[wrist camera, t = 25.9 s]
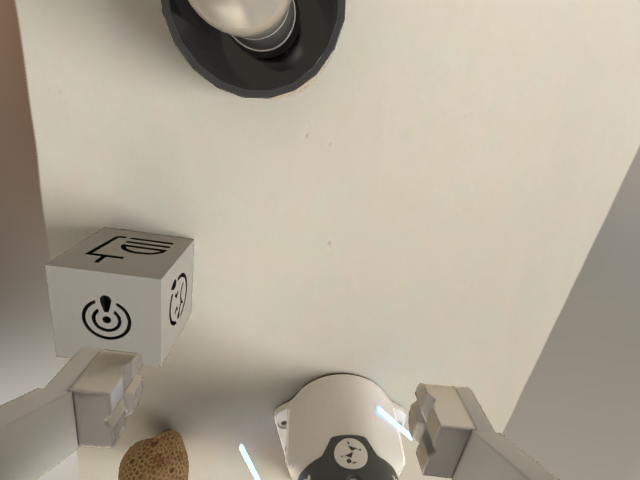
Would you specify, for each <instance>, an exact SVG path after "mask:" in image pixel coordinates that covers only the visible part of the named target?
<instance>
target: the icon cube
mask: <svg viewBox="0 0 640 480" xmlns="http://www.w3.org/2000/svg"><path fill="white" fill-rule="evenodd" d="M193 255H194V240H193V239H186V238H179V237H171V236H164V235H157V234H149V233H142V232H135V231H127V230H120V229H113V228H106V227H105V228H103V229H102V230H100V231H98V232H97V233H95V234H94V235H92V236H90V237H89V238H87V239H86V240H84V241H82V242H81V243H79V244H78V245H76V246H74V247H73V248H71V249H70V250H68V251H66V252H65V253H63V254H62V255H60V256H58V257H57V258H55V259H54V260H52V261H50V262H49V263H47V264H46V265H45V269H46V277H47V285H48V293H49V302H50V310H51V317H52V325H53V334H54V342H55V350H56V356H57V357H65V358H73V357H74V355H75V354H76V353H77V352H78V351H79V350H80V349H82V348H84V347H91V348H99V349H110V350H117V351H125V352H133V353H140V354H141V355H142V363H143V365H142V366H149V367H158V368H161V366H162V365H163V363H164V361H165V359H166V357H167V356H168V354H169V352H170V350H171V348H172V347H173V345H174V343H175V341H176V339H177V338H178V336H179V334H180V332H181V330H182V329H183V327H184V325H185V323H186V321H187V320H188V318H189V316H190V314H191V306H192V281H193Z"/></svg>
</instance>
